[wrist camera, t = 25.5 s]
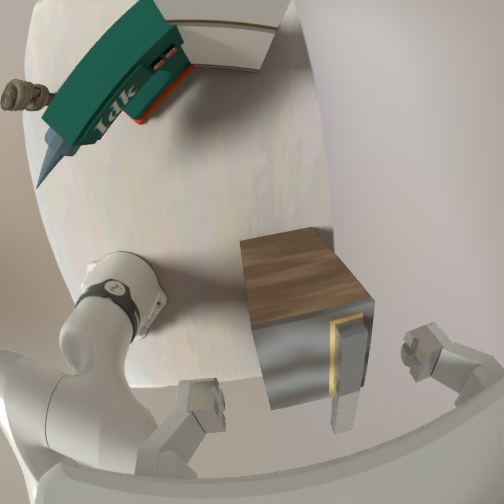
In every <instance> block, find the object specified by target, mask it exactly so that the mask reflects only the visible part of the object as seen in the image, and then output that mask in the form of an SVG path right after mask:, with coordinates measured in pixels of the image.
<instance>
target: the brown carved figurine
mask: <svg viewBox="0 0 504 504" xmlns="http://www.w3.org/2000/svg"><path fill="white" fill-rule="evenodd" d="M53 98H54V94H53V93H49V91H48V88H47V87H46V86H44V85H41V84H32V83H31V82H26V81H23V80H18V79H13V80H11V81H10V82H9V83H8V84H7V86H6V87H5V90H4V92H3V94H2V97H1V108H2V109H3V110H9V111H13V110H14V111H18V110H24V109H26V110H27V111H38V110H41V109H42V108H43V107H44V106H49V105H50V103H51V101H52V100H53Z"/></svg>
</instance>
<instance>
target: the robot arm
mask: <svg viewBox="0 0 504 504" xmlns="http://www.w3.org/2000/svg"><path fill="white" fill-rule="evenodd" d="M81 288H82V294H81V296H80V297H79V299H78V301H77V303H76V306H75V309H74V311H73V312H72V314H71V315H70V317H69V318H68V320H67V321H66V322H65V324H64V325H63V327H62V329H61V332H60V337H59V342H60V348H61V351H62V354H63V355H64V357H65V359H66V361H67V362H68V364H69V365H70V366H71V368H72V369H73V370H74V371H75V372H76V373H77V375H75V376H72V375H70V374H66V373H63V372H61V371H59V370H57V369H55V368H52V367H50V366H48V365H46V364H44V363H42V362H40V361H38V360H36V359H34V358H32V357H30V356H28V355H25V354H22V353H18V352H15V351H12V350H8V349H5V348H0V426H1V428H2V430H3V432H4V434H5V436H6V437H7V439H8V441H9V443H10V445H11V447H12V449H13V451H14V453H15V455H16V457H17V459H18V462H19V464H20V466H21V469H22V471H23V474H24V478H25V482H26V487H27V491H28V495H29V500H30V504H504V369H503V368H502V366H501V365H500V364H499V363H498V362H497V360H496V359H495V358H494V357H493V356H491V355H488V354H485V353H483V352H480V351H477V350H475V349H472V348H469V347H467V346H464V345H461V344H459V343H456V342H455V343H452V342H451V340H450V339H449V338H448V337H447V336H446V335H445V333H444V332H443V331H442V330H441V329H440V328H439V327H438V326H437V324H435V323H434V322H433V323H430V324H427V325H425V326H422V327H419V328H417V329H414V330H412V331H409V332H406V334H405V336H404V340H405V343H404V344H403V345H402V348H401V358H402V361H403V363H404V364H405V365H406V366H408V367H410V374H411V375H412V376H413V378H414V380H415V381H416V382H418V381H420V380H423V379H425V378H428V377H430V376H431V377H432V378H434V379H435V380H437V381H439V382H441V383H442V384H444V385H446V386H447V387H449V388H451V389H452V390H454V391H456V392H458V393H459V394H460V395H459V396H458V398H457V399H456V401H455V405H456V408H455V409H453V410H451V411H449V412H448V413H446V414H444V415H442V416H440V417H439V418H437V419H435V420H433V421H431V422H429V423H427V424H425V425H423V426H421V427H419V428H417V429H415V430H413V431H410V432H408V433H406V434H404V435H402V436H399V437H397V438H395V439H392V440H390V441H387V442H385V443H382V444H380V445H377V446H375V447H371V448H369V449H366V450H363V451H360V452H357V453H354V454H351V455H348V456H344V457H341V458H337V459H334V460H330V461H326V462H323V463H319V464H314V465H310V466H306V467H301V468H296V469H292V470H286V471H280V472H274V473H267V474H259V475H251V476H240V477H227V478H206V479H205V478H199V479H197V473H195V472H194V471H193V470H192V469H191V468H190V467H189V466H188V465H187V463H188V461H189V460H190V458H191V457H192V455H193V454H194V452H195V451H196V449H197V448H198V446H199V445H200V443H201V441H202V440H203V438H204V437H205V435H206V434H205V433H215V432H224V431H226V427H225V426H226V424H225V417H224V415H223V412H224V410H225V402H224V396H223V393H222V390H221V389H220V388H219V386H218V385H219V384H218V381H217V379H216V378H208V379H195V380H183V381H179V383H178V389H177V397H176V404H175V412H173V413H170V414H169V416H168V417H167V418H166V419H165V420H164V421H163V422H162V423H161V424H160V426H159V427H158V426H157V423H156V421H155V419H154V417H153V415H152V414H151V412H150V411H149V410H148V408H146V407H145V406H144V405H143V404H142V403H141V402H140V401H139V400H138V398H137V397H136V396H135V395H134V393H133V392H132V390H131V389H130V387H129V385H128V383H127V380H126V377H125V373H124V364H125V359H126V355H127V351H128V348H129V345H130V344H131V343H132V341H138V340H140V339H141V338H142V337H145V335H146V334H147V331H148V328H149V327H150V325H151V324H152V322H153V321H154V319H155V318H156V317H157V315H158V314H159V312H160V311H161V309H162V308H163V307H164V305H165V304H166V302H167V296H166V294H165V293H164V292H163V290H162V289H161V288H160V286H159V283H158V280H157V277H156V275H155V273H154V271H153V270H152V268H151V267H150V266H149V265H148V264H147V263H146V262H145V261H144V260H143V259H141V258H140V257H138V256H136V255H134V254H131V253H127V252H115V253H111V254H109V255H107V256H106V257H104V258H103V259H102V260H100V261H95V262H91V263H89V265H88V266H87V277H86V279H85V280H84V282H83V283H82V285H81ZM158 302H160V304H159V303H158ZM73 459H74V460H73ZM75 460H76V461H79V462H81V463H84V464H86V465H89V466H92V467H95V468H92V467H87V466H83V465H79V464H78V463H77V462H76V461H75ZM96 468H97V469H96ZM125 473H127V474H125ZM131 474H134V475H131Z"/></svg>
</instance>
